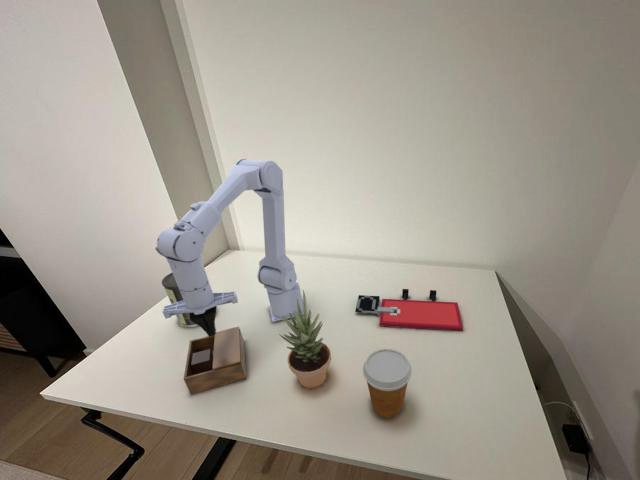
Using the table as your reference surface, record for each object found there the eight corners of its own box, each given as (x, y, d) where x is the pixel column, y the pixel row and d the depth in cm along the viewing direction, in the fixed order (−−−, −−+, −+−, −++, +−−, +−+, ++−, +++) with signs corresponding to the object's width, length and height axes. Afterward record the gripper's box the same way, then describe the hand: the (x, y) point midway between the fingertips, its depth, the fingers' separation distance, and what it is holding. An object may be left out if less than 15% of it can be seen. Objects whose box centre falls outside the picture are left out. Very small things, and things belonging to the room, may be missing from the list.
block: (215, 360, 79) (210, 348, 77) (214, 372, 76) (209, 360, 74) (197, 365, 78) (192, 353, 76) (196, 377, 75) (190, 365, 73)
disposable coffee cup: (362, 388, 71) (360, 349, 65) (404, 384, 72) (406, 344, 65) (366, 427, 63) (364, 387, 57) (414, 423, 63) (417, 382, 57)
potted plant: (316, 402, 68) (300, 311, 56) (283, 384, 73) (262, 296, 60) (342, 370, 76) (333, 283, 63) (311, 356, 80) (297, 272, 67)
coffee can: (222, 307, 99) (209, 268, 92) (202, 329, 91) (186, 288, 83) (193, 304, 101) (178, 266, 94) (170, 325, 93) (152, 285, 85)
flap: (239, 327, 82) (238, 326, 82) (240, 362, 72) (240, 361, 72) (215, 333, 81) (214, 332, 81) (212, 370, 70) (212, 368, 70)
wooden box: (244, 342, 85) (239, 328, 83) (246, 378, 75) (241, 363, 72) (195, 355, 82) (189, 340, 79) (190, 394, 71) (183, 379, 69)
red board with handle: (359, 294, 102) (352, 325, 90) (359, 286, 101) (352, 317, 88) (455, 298, 99) (462, 331, 86) (456, 291, 97) (463, 324, 85)
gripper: (150, 302, 61) (175, 353, 68) (230, 286, 65) (245, 336, 72) (157, 284, 67) (179, 333, 74) (230, 270, 71) (244, 317, 78)
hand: (212, 333), depth 73 cm, fingers closed
